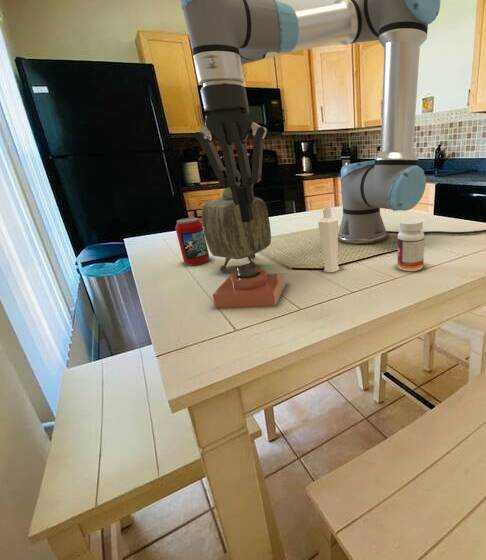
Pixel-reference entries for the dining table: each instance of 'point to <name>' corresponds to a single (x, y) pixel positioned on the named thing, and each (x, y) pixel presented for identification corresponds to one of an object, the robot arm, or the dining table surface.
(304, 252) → the dining table surface
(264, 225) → the tabletop clock
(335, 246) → the perfume bottle
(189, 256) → the beverage can
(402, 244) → the pill bottle
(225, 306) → the brown stepped base
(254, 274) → the dark grey short cylinder
